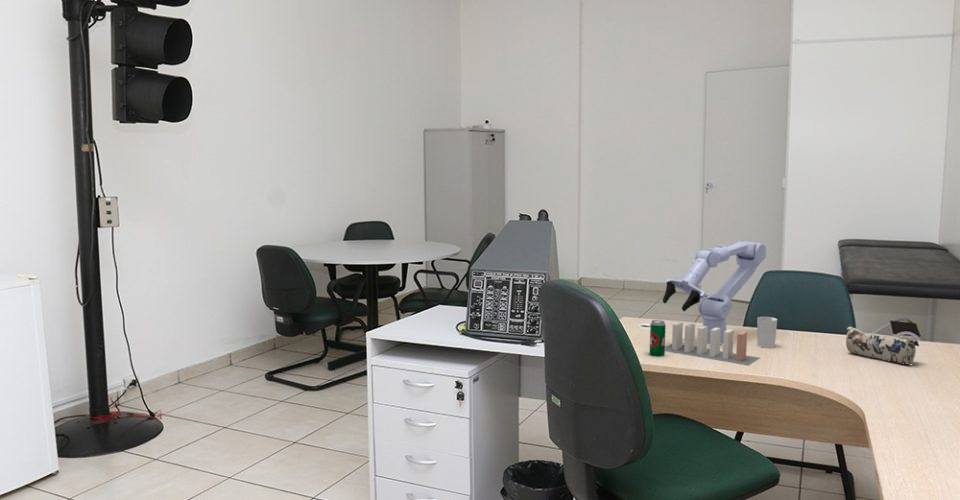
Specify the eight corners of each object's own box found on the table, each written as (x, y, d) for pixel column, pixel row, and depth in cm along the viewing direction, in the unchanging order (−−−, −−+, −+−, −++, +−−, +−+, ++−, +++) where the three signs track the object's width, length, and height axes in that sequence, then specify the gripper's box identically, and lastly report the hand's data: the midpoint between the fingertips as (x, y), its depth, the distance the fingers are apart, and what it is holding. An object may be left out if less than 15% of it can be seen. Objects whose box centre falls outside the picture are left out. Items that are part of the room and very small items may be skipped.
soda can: (664, 358, 246) (666, 323, 244) (649, 357, 247) (650, 322, 245) (664, 354, 251) (665, 320, 249) (649, 353, 252) (650, 319, 250)
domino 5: (722, 358, 244) (723, 331, 243) (727, 355, 248) (729, 329, 247) (727, 358, 243) (728, 332, 242) (732, 355, 247) (733, 329, 246)
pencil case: (918, 363, 240) (921, 334, 239) (907, 368, 235) (909, 338, 234) (852, 350, 257) (854, 323, 256) (840, 353, 252) (841, 326, 251)
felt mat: (673, 344, 264) (673, 343, 264) (760, 358, 245) (760, 357, 245) (659, 351, 255) (659, 350, 255) (748, 366, 236) (748, 365, 236)
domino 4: (709, 355, 247) (710, 329, 246) (714, 352, 251) (716, 327, 250) (714, 356, 246) (715, 330, 245) (719, 353, 250) (720, 328, 249)
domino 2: (684, 351, 253) (685, 326, 252) (689, 348, 257) (690, 323, 255) (688, 352, 252) (689, 326, 251) (694, 349, 256) (695, 324, 254)
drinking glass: (755, 347, 260) (757, 319, 259) (756, 342, 267) (757, 316, 265) (775, 349, 258) (777, 321, 257) (775, 344, 264) (777, 317, 263)
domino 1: (671, 349, 255) (672, 324, 254) (677, 346, 259) (678, 321, 258) (676, 350, 254) (677, 325, 253) (682, 347, 258) (682, 322, 257)
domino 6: (736, 360, 242) (737, 333, 240) (741, 357, 245) (742, 331, 244) (740, 361, 241) (742, 334, 239) (745, 358, 244) (747, 331, 243)
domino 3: (696, 353, 250) (697, 328, 249) (702, 350, 254) (703, 325, 253) (701, 354, 249) (702, 328, 248) (706, 351, 253) (707, 326, 252)
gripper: (673, 263, 259) (653, 291, 255) (710, 277, 250) (690, 306, 246) (677, 275, 264) (657, 303, 260) (713, 289, 255) (693, 318, 250)
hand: (673, 305), depth 253 cm, fingers open, 7 cm apart
